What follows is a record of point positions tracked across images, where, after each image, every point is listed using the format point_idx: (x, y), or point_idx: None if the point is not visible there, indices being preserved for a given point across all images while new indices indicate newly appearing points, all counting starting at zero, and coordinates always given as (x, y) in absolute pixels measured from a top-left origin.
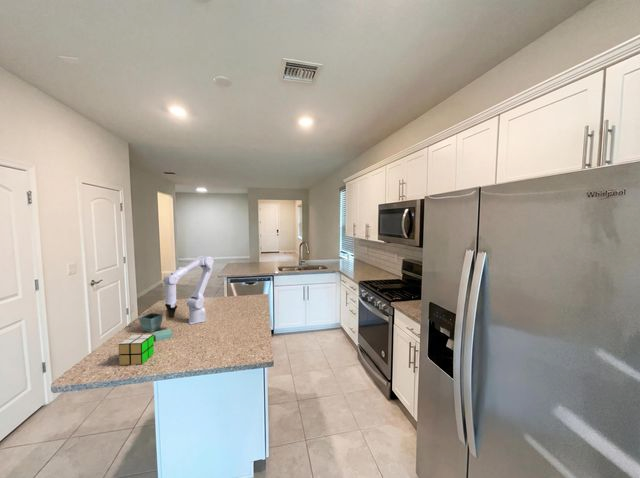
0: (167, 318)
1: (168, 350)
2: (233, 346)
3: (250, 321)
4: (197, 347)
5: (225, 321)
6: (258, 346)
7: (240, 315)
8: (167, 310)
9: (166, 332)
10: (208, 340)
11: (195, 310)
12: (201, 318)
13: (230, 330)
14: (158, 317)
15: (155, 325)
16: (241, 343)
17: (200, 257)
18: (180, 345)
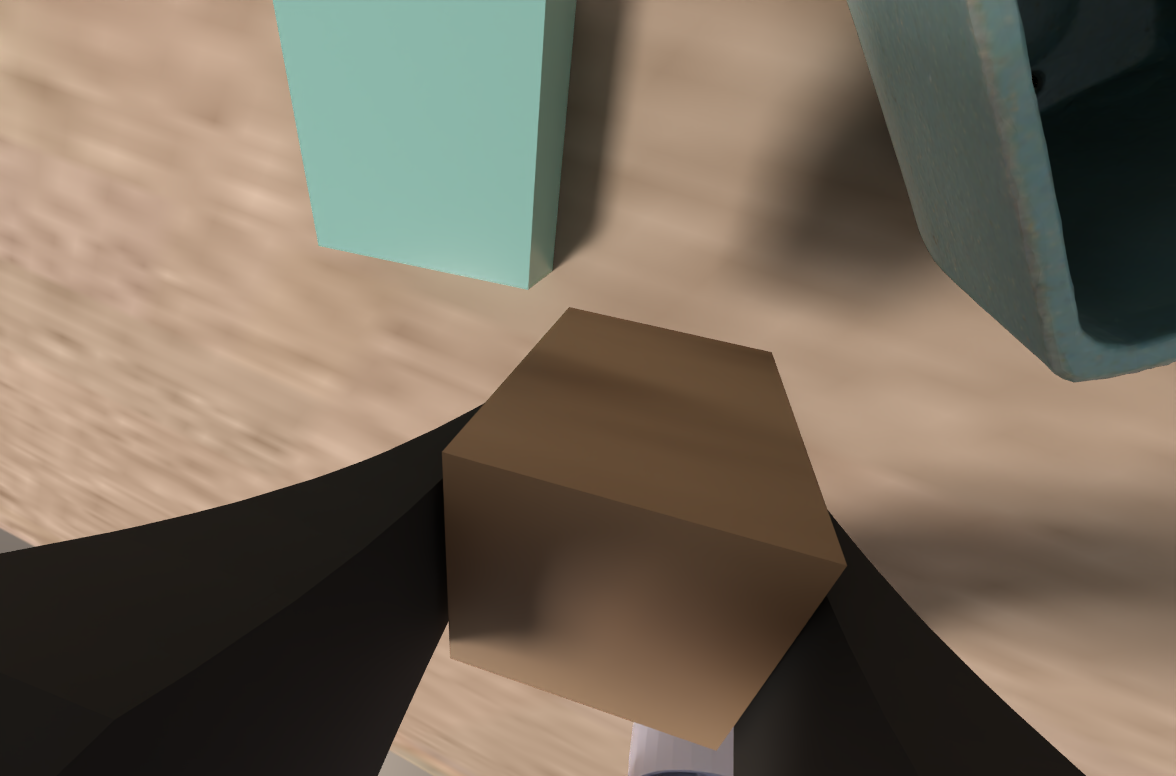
0: (550, 340)
1: (14, 62)
2: (54, 472)
3: (404, 718)
4: (60, 317)
5: (507, 682)
6: (43, 534)
7: (558, 771)
8: (663, 555)
9: (388, 181)
10: (177, 433)
11: (633, 772)
12: None
13: None
14: (980, 163)
15: (869, 63)
16: (89, 516)
17: None
18: (122, 221)
